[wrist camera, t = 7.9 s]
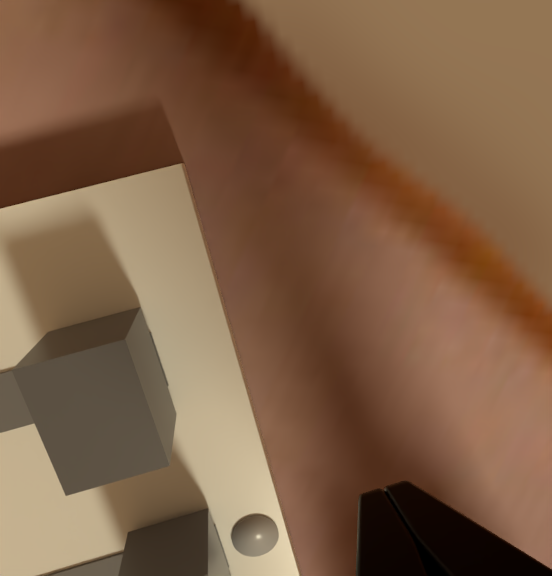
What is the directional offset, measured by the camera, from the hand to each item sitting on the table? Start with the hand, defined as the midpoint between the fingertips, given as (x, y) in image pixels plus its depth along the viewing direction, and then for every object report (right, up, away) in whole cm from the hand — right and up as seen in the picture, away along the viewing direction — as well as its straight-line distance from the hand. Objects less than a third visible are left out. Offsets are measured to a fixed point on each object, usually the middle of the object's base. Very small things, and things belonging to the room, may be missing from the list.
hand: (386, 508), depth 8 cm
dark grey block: (-7, +1, +8) cm, 11 cm away
